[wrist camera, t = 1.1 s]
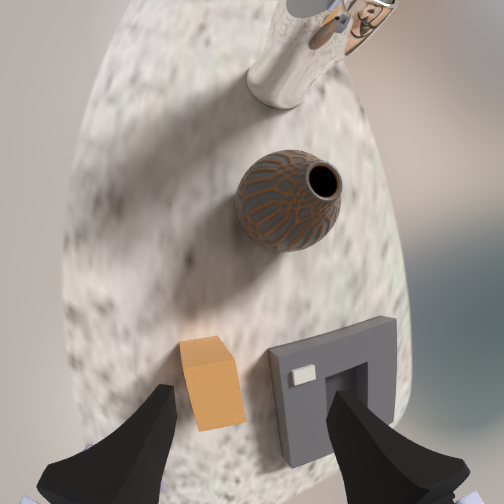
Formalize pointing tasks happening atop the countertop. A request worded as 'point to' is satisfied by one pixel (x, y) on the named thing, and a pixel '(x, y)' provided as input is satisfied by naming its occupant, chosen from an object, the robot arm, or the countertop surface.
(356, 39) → the metal tumbler
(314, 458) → the socket
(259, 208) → the vase
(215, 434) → the countertop surface
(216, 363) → the plug
